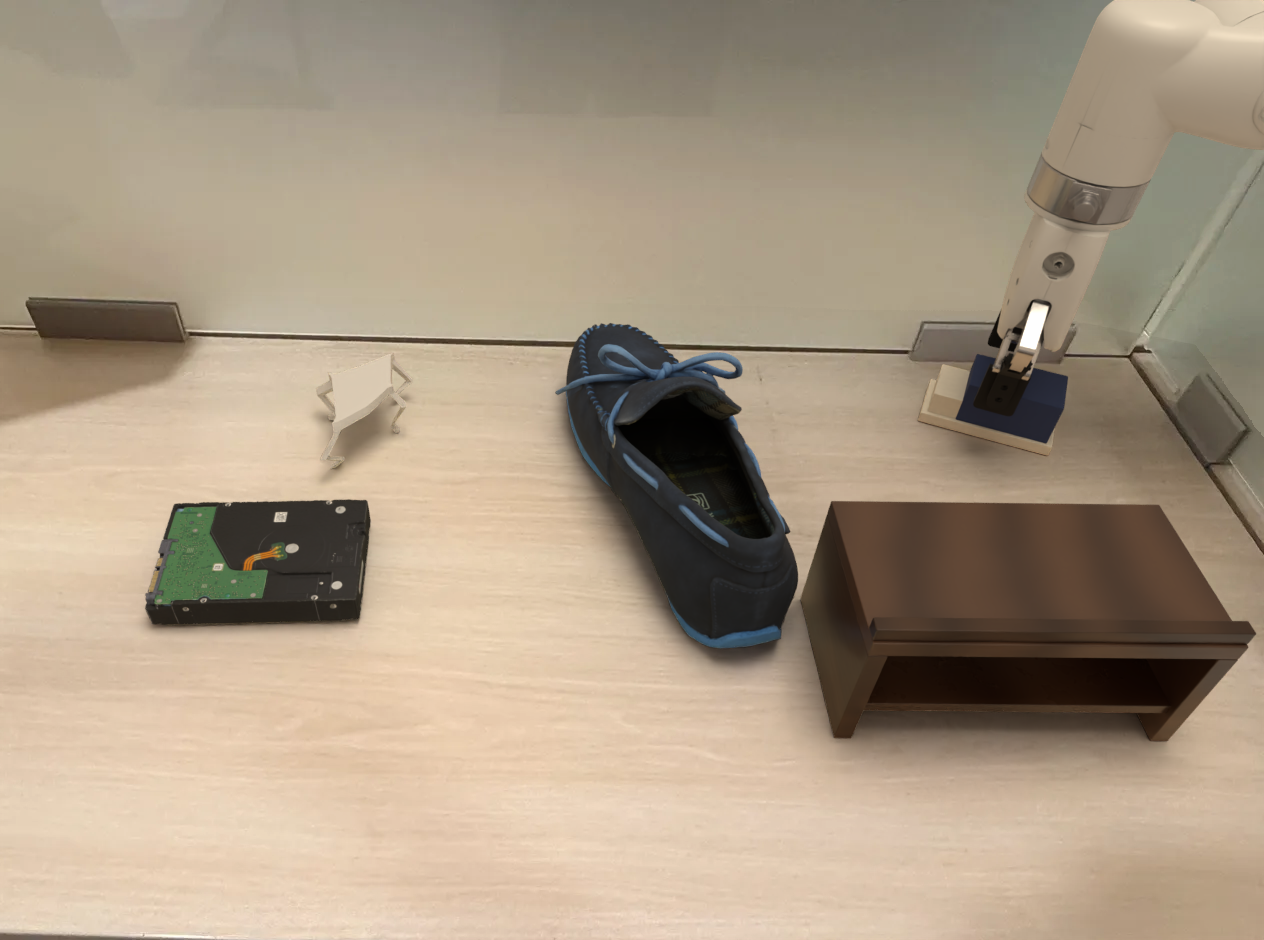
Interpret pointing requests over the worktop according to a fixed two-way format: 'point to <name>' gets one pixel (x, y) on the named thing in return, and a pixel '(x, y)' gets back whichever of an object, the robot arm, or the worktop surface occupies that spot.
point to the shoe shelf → (1013, 612)
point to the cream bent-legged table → (360, 395)
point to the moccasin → (684, 482)
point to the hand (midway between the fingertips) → (998, 378)
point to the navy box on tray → (1024, 429)
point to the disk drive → (261, 563)
